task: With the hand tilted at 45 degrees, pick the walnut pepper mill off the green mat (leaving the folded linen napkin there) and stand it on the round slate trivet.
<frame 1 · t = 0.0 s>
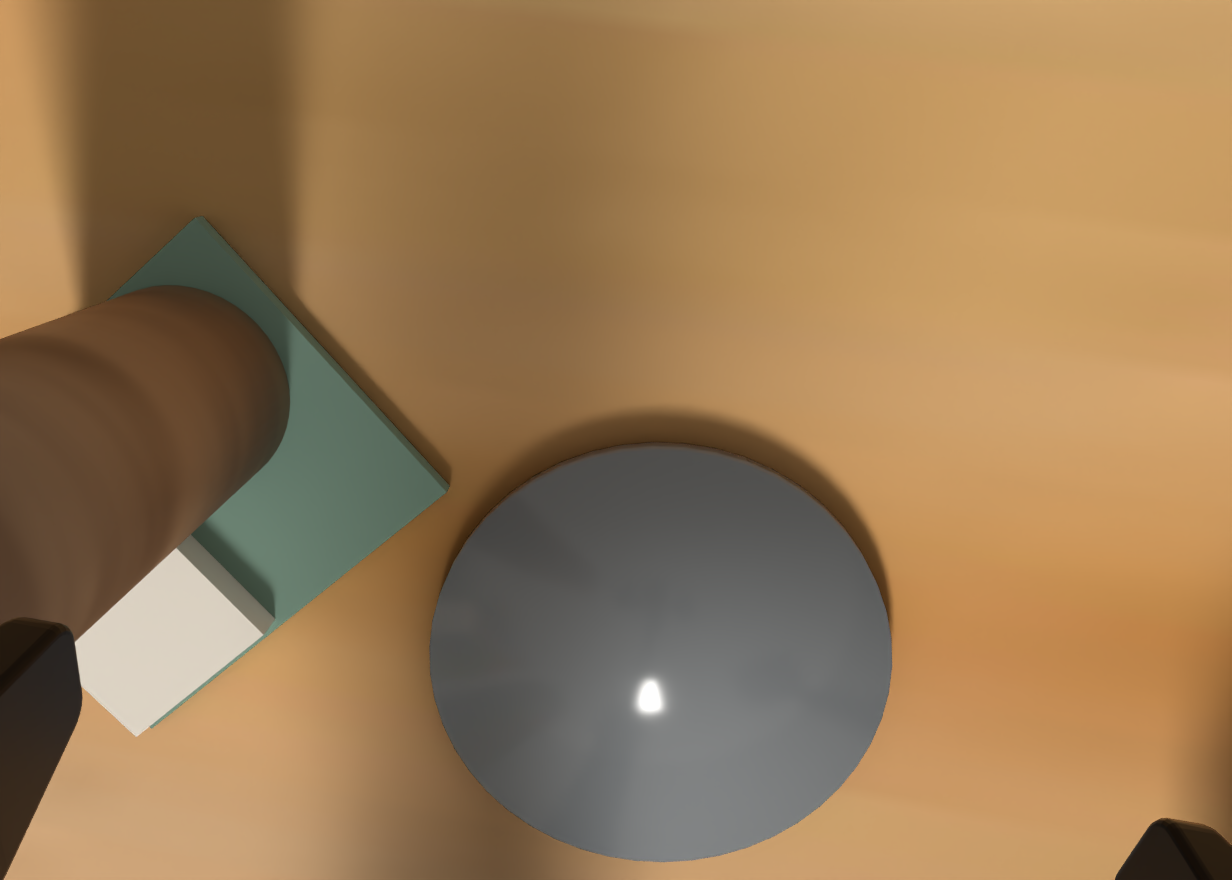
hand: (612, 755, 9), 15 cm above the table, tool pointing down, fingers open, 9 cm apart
trivet: (658, 657, 26), on the table
mat: (178, 487, 25), on the table
pepper mill: (183, 391, 24), resting on mat
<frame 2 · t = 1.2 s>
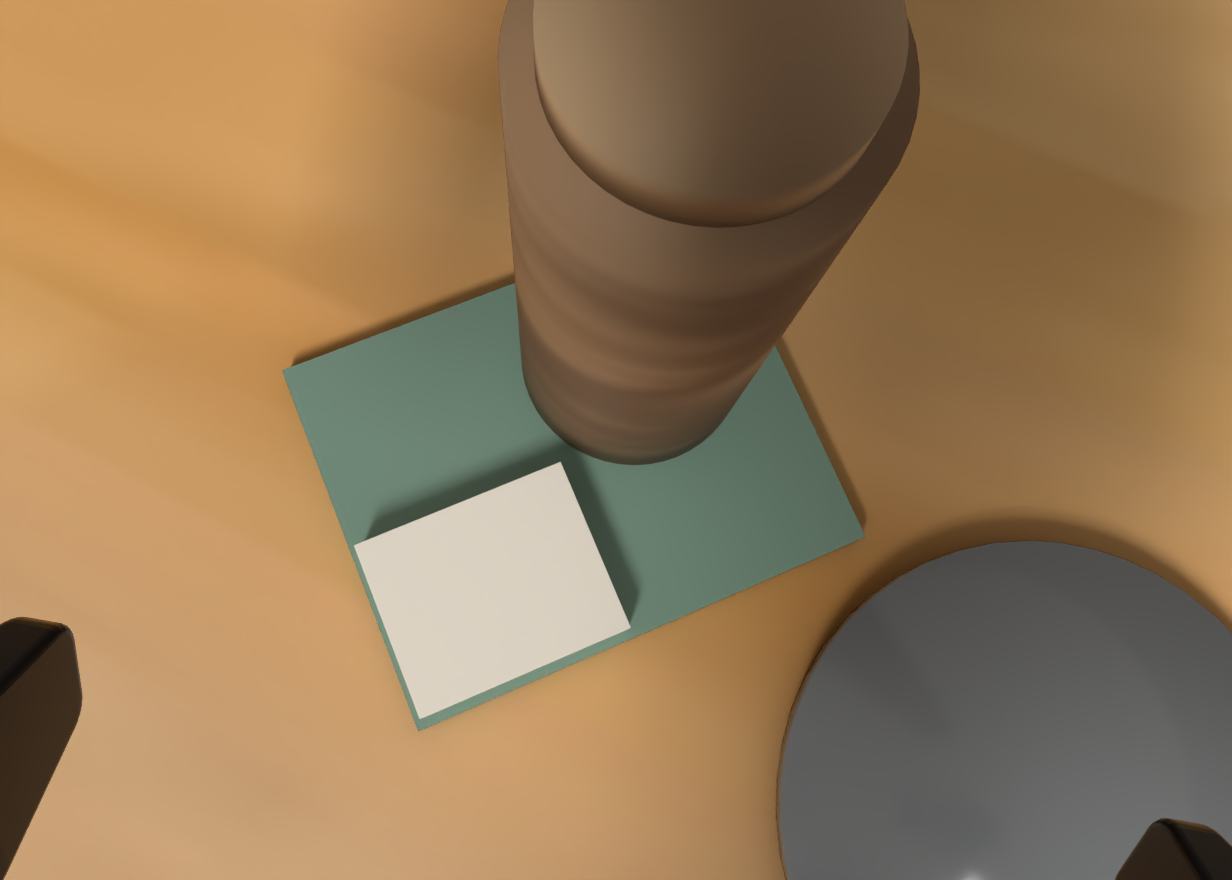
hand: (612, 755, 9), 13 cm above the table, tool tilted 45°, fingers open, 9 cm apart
trivet: (1040, 811, 22), on the table
mat: (573, 457, 23), on the table
pepper mill: (632, 356, 23), resting on mat
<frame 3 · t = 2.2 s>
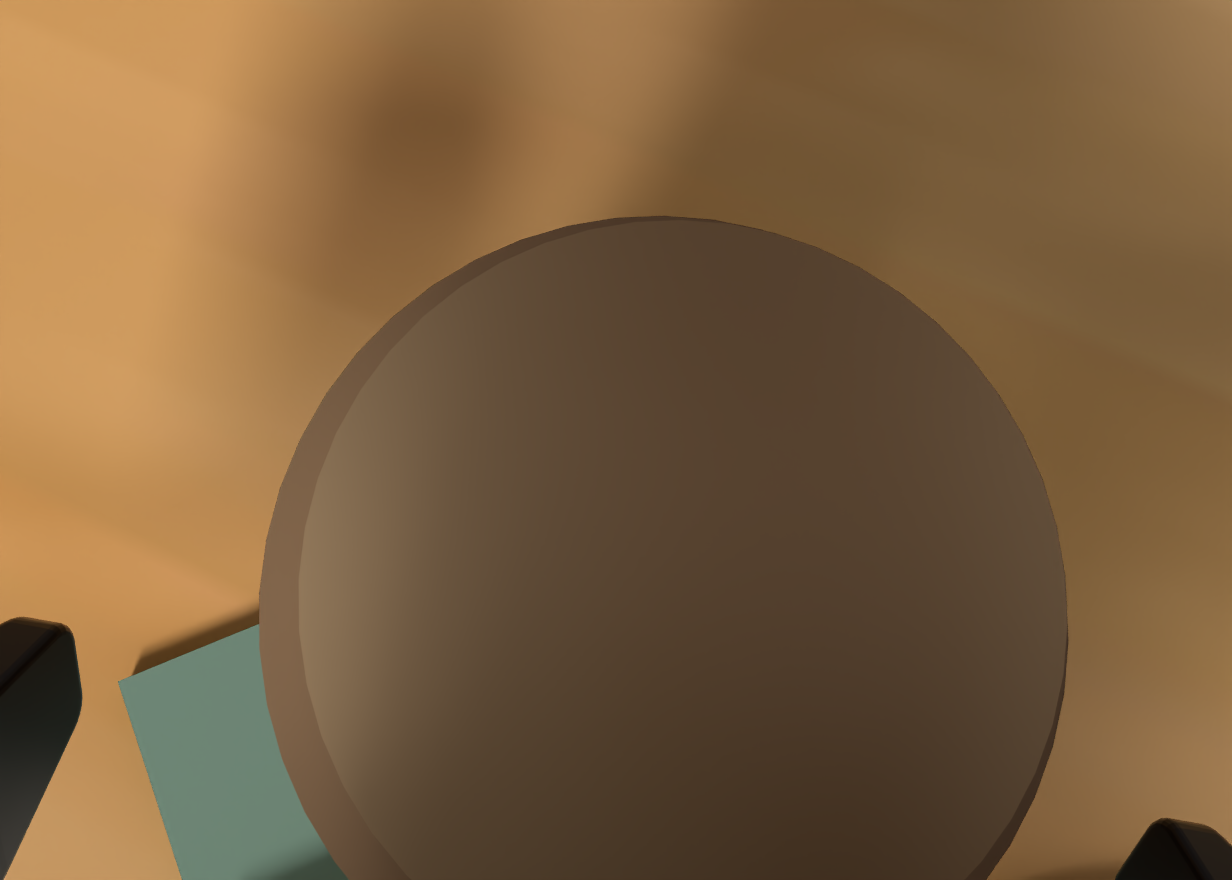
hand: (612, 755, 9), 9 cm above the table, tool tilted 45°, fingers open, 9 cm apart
mat: (511, 791, 17), on the table
pepper mill: (591, 652, 17), resting on mat
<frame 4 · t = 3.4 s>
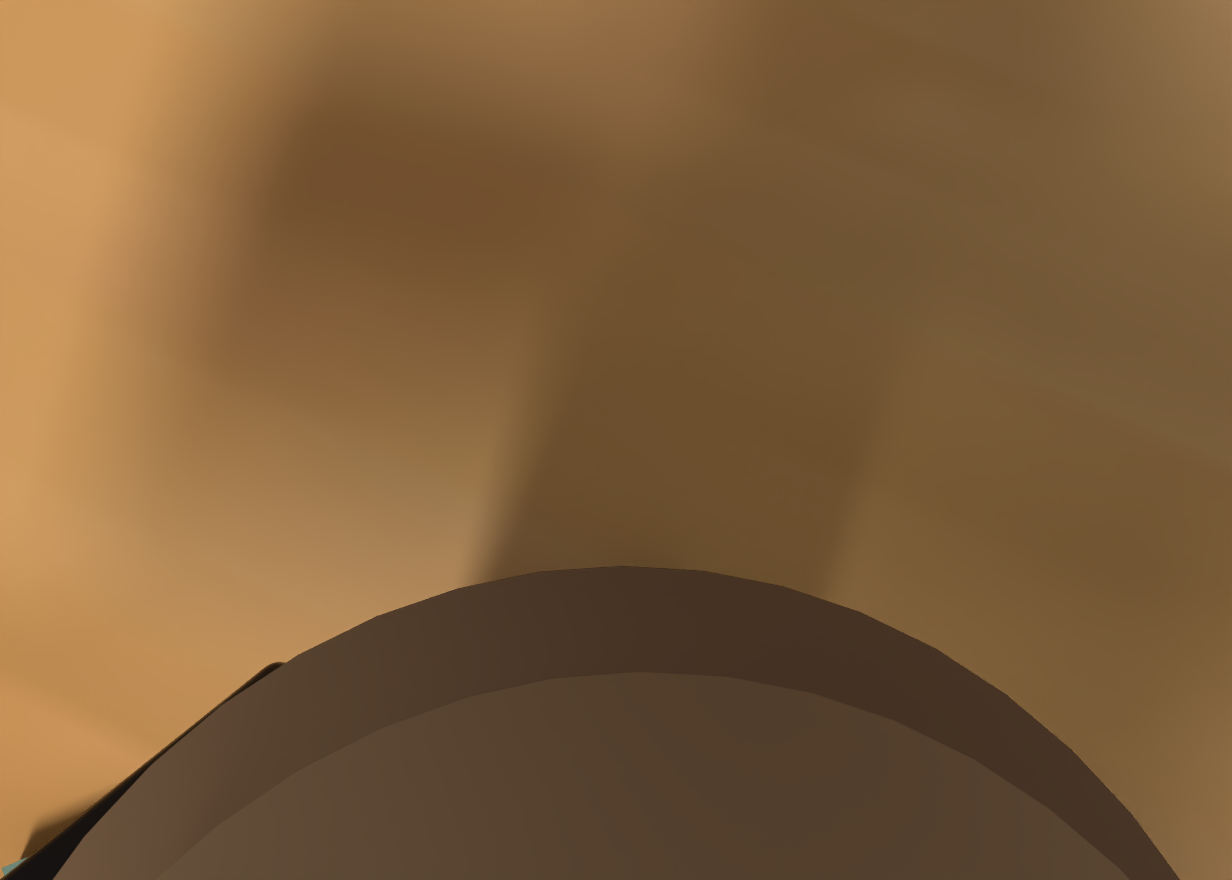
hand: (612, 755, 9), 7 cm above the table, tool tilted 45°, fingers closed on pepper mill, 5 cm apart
pepper mill: (568, 826, 14), resting on mat, touching gripper
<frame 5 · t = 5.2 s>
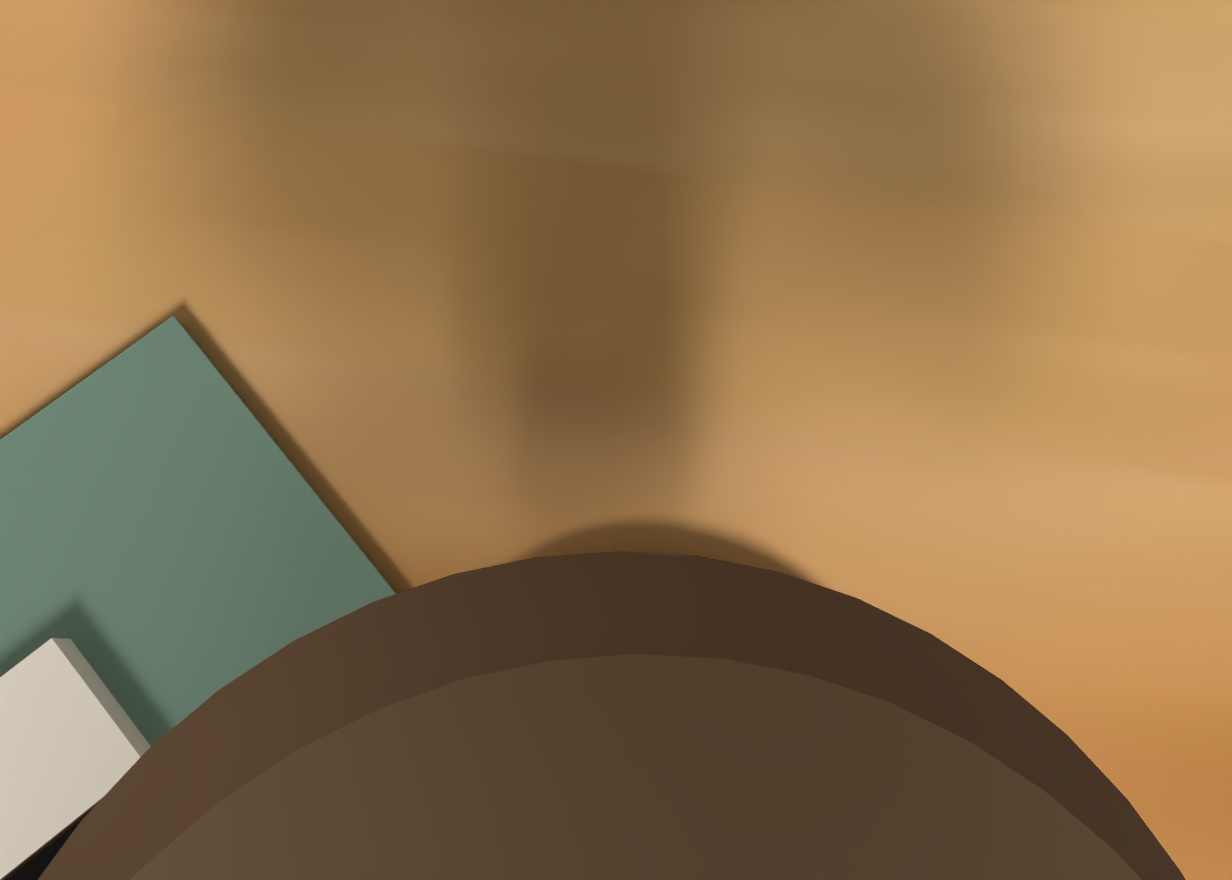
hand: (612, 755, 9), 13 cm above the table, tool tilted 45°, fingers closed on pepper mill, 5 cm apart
mat: (90, 618, 21), on the table
pepper mill: (566, 822, 14), point 7 cm above the table, touching gripper
when the fingers open (8 cm above the table, at t = 6.8 s): pepper mill stays where it is, resting on trivet.
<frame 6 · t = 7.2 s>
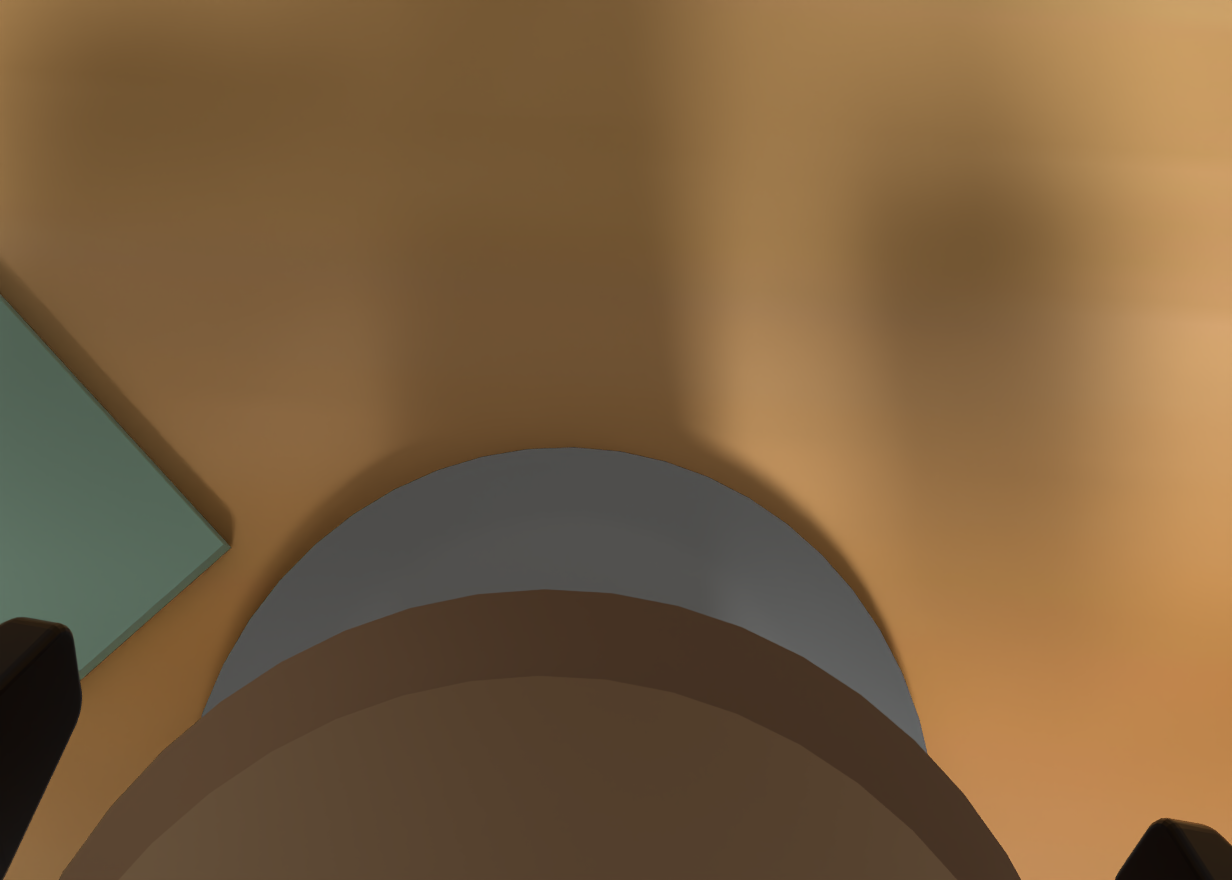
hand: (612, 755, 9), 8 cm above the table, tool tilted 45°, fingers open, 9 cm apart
trivet: (565, 811, 16), on the table
pepper mill: (565, 822, 15), point 1 cm above the table, touching trivet
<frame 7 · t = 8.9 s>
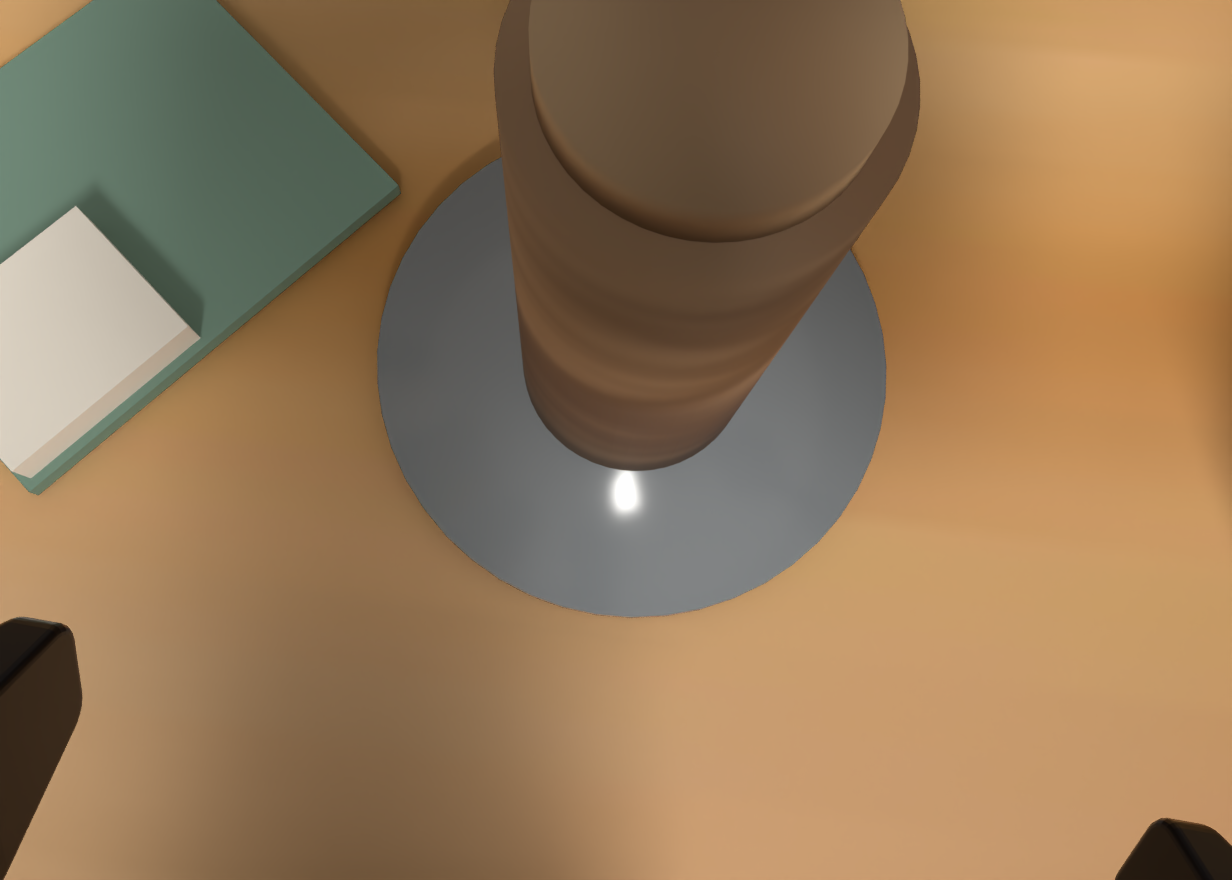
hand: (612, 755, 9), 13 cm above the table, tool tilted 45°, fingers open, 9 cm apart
trivet: (633, 365, 23), on the table
mat: (108, 211, 23), on the table
pepper mill: (634, 361, 23), point 1 cm above the table, touching trivet
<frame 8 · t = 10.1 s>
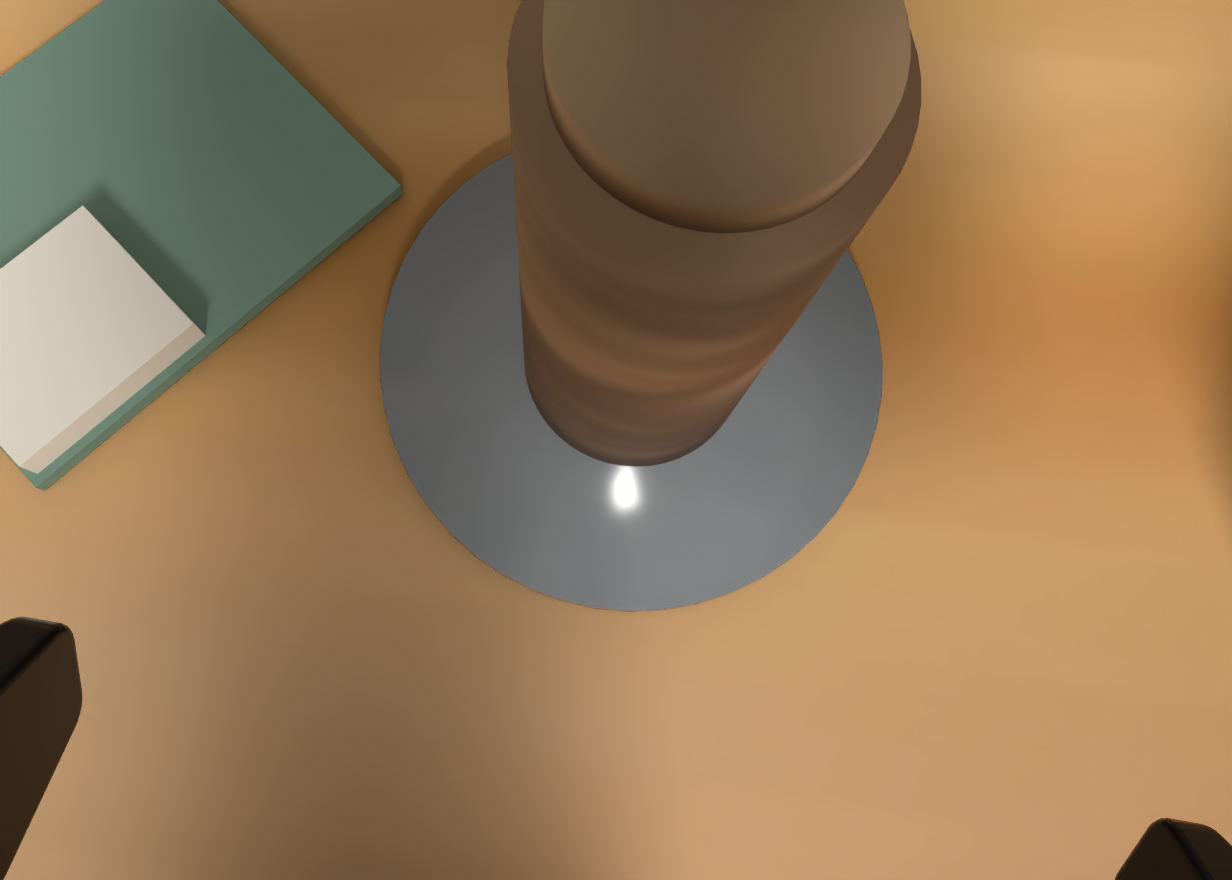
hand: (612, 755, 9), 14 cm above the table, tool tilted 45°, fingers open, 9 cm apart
trivet: (632, 363, 24), on the table
mat: (114, 211, 24), on the table
pepper mill: (634, 358, 23), point 1 cm above the table, touching trivet
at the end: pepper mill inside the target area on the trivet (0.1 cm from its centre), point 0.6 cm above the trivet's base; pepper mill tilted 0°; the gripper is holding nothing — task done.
